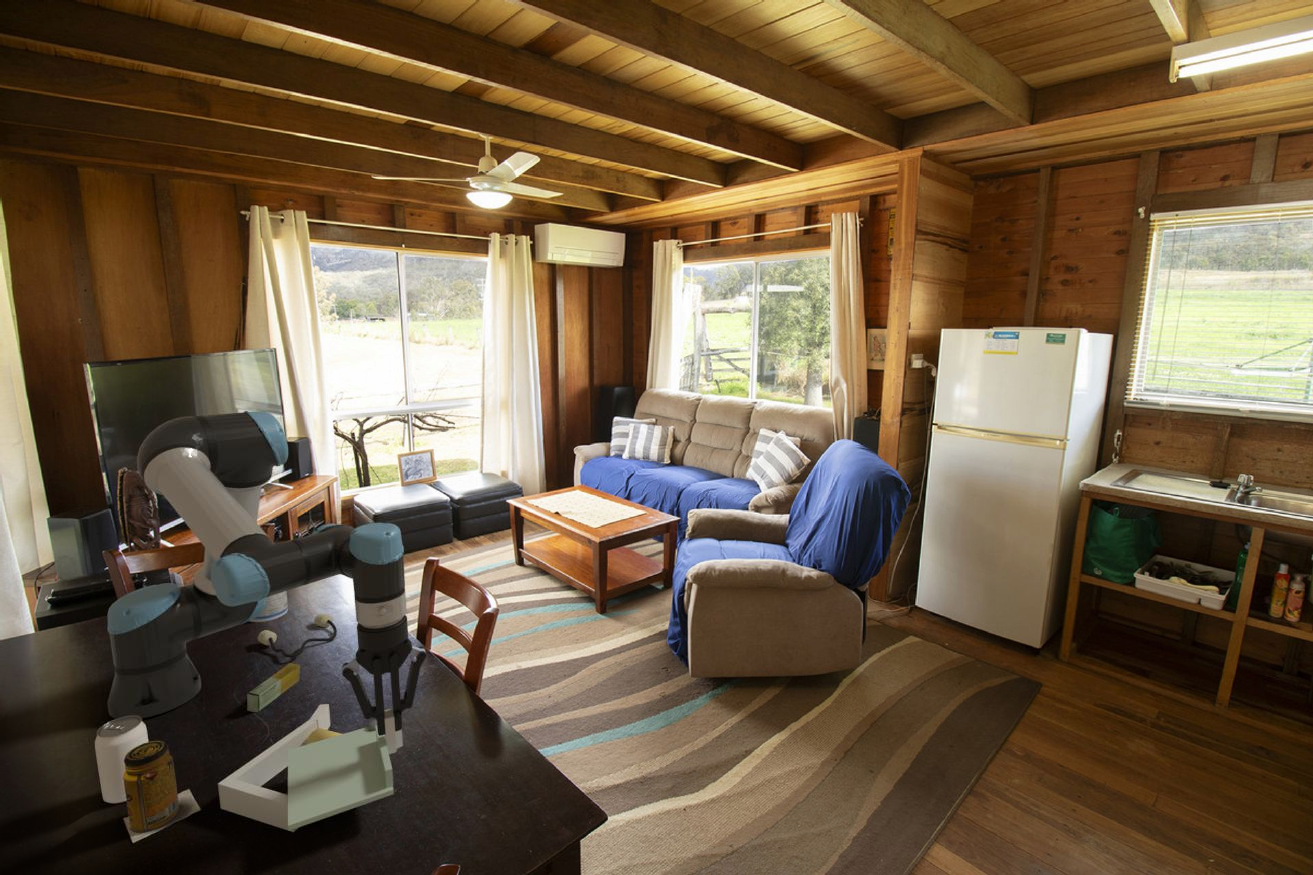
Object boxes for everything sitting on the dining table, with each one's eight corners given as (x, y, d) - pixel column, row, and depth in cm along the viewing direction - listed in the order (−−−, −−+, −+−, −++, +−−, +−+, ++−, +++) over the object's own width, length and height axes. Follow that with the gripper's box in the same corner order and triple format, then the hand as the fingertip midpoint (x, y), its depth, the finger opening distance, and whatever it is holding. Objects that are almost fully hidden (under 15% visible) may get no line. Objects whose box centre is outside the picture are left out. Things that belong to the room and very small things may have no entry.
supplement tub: (240, 619, 163) (234, 567, 161) (276, 606, 171) (272, 556, 169) (258, 628, 158) (253, 575, 156) (295, 614, 166) (291, 563, 164)
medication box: (257, 713, 123) (257, 696, 122) (246, 711, 123) (245, 693, 122) (300, 680, 135) (300, 664, 134) (289, 677, 135) (289, 661, 134)
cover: (288, 830, 88) (286, 807, 87) (288, 752, 104) (286, 732, 103) (397, 792, 95) (396, 770, 95) (381, 724, 112) (380, 706, 111)
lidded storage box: (303, 835, 93) (301, 809, 92) (211, 805, 98) (208, 780, 98) (405, 743, 114) (404, 721, 113) (324, 723, 120) (322, 702, 119)
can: (124, 807, 98) (114, 740, 96) (92, 801, 99) (82, 735, 97) (163, 779, 104) (155, 716, 102) (133, 774, 105) (124, 711, 103)
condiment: (123, 819, 95) (113, 750, 94) (189, 789, 102) (181, 725, 100) (133, 844, 91) (122, 772, 89) (201, 811, 97) (193, 744, 95)
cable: (354, 637, 152) (353, 624, 152) (283, 663, 139) (282, 648, 139) (325, 621, 161) (324, 609, 161) (256, 643, 149) (255, 630, 148)
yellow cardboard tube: (303, 754, 110) (308, 731, 110) (321, 748, 113) (326, 725, 114) (348, 766, 107) (353, 742, 107) (364, 759, 110) (369, 736, 111)
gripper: (337, 637, 92) (348, 775, 96) (427, 619, 98) (434, 750, 102) (337, 617, 99) (348, 746, 103) (421, 601, 105) (428, 724, 109)
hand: (391, 748), depth 102 cm, fingers closed
